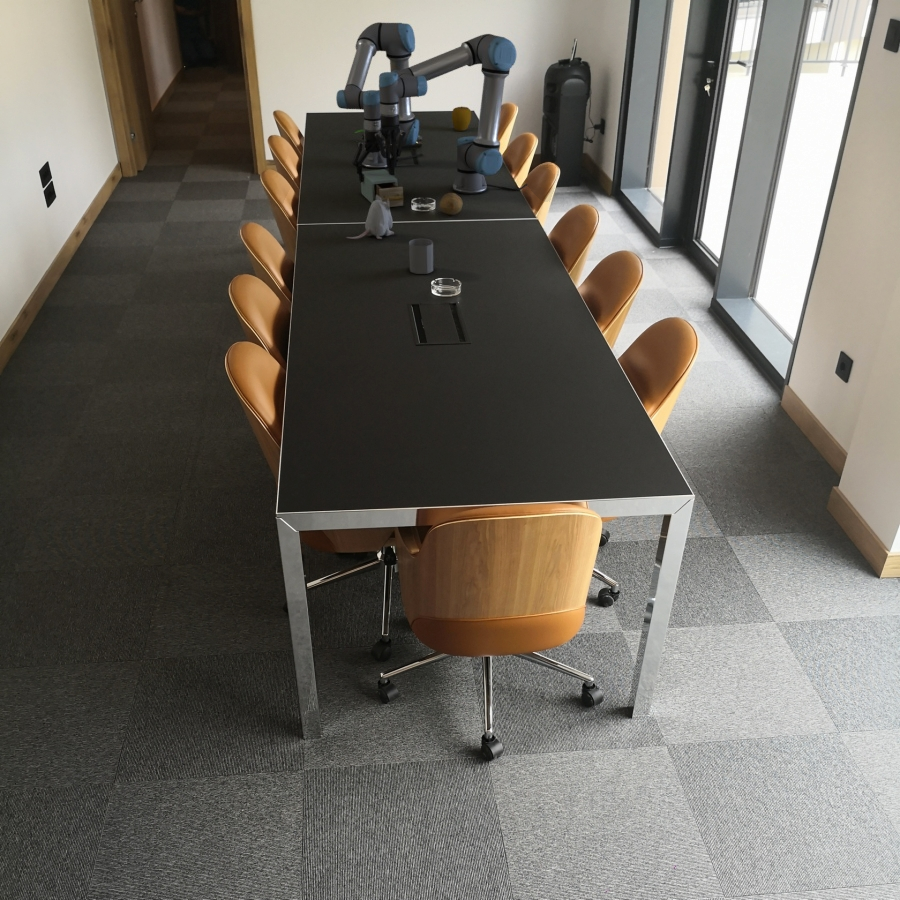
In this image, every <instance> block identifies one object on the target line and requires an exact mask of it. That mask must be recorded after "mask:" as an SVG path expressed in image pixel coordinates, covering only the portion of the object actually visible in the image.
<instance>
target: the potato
mask: <svg viewBox="0 0 900 900" xmlns="http://www.w3.org/2000/svg"><path fill="white" fill-rule="evenodd" d="M463 204H464V203H463V200H462V198H461V197H460V195H458V194H457V193H456V192H455V193H454V192H448V193H445V194H444V195H443V196H442V197H441V199H440V201H439V209H440V210H441V211H442V212H443V213H444V214H446V215H448V216H456V215H457V214H458V213H459V212H461V211H462V207H463Z"/></svg>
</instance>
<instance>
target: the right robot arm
mask: <svg viewBox="0 0 900 900" xmlns="http://www.w3.org/2000/svg"><path fill="white" fill-rule="evenodd" d="M516 61H517V48H516V46H515V44H514V43H513V41H512V40H510V39H508V38H506V36H505V37H504V36H500V35H495V34H491V33H484V34H480V35H477V36H475V37H473V38H470V39H468V40H465V41H463V42H461V44H460V46H458V47H455V48H454V49H450V50H448V51H445V52H443V53H440V54H439V55H436V56H434V57H431V58H428V59H426V60H423V61H421V62H418V63H415V64H414V65H411V66H409V68H406V69H403V70H401V71H400V70H394V71H392V72H391V71H384V72H382V73H380V74H379V76H378V90H379V94H380V114H382V115H381V116H380V120H381V128H380V131H379V132H378V133H375V137H376V138H377V140H378V144H379V148H380V151H381V155H382V157H384V158H386V164H387V167H389V170H388V172H389V174H390V175H393V176H395V167H397V162H396V159H397V158H401V154H402V149H403V146H404V145H403V140H404V137H405V135H406V132H404V131H402V130H401V128H400V126H399V115H398V114H399V98H405V97H411V98H419V97H423V96H426V95H427V93H428V89H429V87H428V82H429V81H431V80H433V79H436V78H439V77H441V76H443V75H446V74H448V73H450V72H453V71H456V70H458V69H461V68H463V67H466V66H468V67H473V66H475V65H481V70H480V71H481V73H482V75H483V84H482V91H481V92H482V93H481V102H480V110H479V118H478V128H477V135H471V136H463V137H459V138H458V139H457V144H456V176H455V178H454V181H453V184H452V190H453V191H454V192H455V193H456V194H462V195H479V194H483V193H485V192H486V191H487V190H488V187H492V188H497V189H501V190H508V191H521V190H523V189H525V187H527V186H528V183H526V184H524V185H522V186H521V187H518V188H511V187H505V186H500V185H495V184H489V183H487V181H486V177H485V176H487V177H490V176H493V175H496V173H497V172H499V171H500V169H501V168H502V166H503V162H504V161H503V158H504V157H503V155H502V153H501V151H500V149H501V142H500V141H499V139H498V137H499V128H500V120H501V113H502V105H503V98H504V97H503V95H504V88H505V81H506V78H507V77H509V75H510V70H511V68H513V66H514V65H515V64H516ZM381 134H382V135H383V136H384V138H385V147H386V154H385V150H384V146H383V142H382V139H381V137H382V136H381ZM398 134H399V135H400V136H399V140H398V144H396V137H397V135H398ZM390 139H391V144H390ZM390 145H391V148H392V155H391V158H390V154H391V153H390Z"/></svg>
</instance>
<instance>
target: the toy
mask: <svg viewBox="0 0 900 900" xmlns="http://www.w3.org/2000/svg"><path fill="white" fill-rule="evenodd" d="M393 221H394V220H393V217H392V213H391V207H389V200H387V203H386V202H382V200H381V198H380V197H379V196H378V195H376V200H375V201H373V202H372V203H370V206H369V209H368V213H367V216H366V220H365V223H364V228H365V231H363V232H362V233H361V234H359V235H356V236H346V237H345V238H346V239H351V240H358V239H361V238H363V237H365V236H367V237H368V236H369V237H371V236H375V237H376V239H377V240H383V236H385V237H388V236H392V235H394V234H395V232H394V231H392V228H393V225H394V224H393V223H394V222H393Z"/></svg>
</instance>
